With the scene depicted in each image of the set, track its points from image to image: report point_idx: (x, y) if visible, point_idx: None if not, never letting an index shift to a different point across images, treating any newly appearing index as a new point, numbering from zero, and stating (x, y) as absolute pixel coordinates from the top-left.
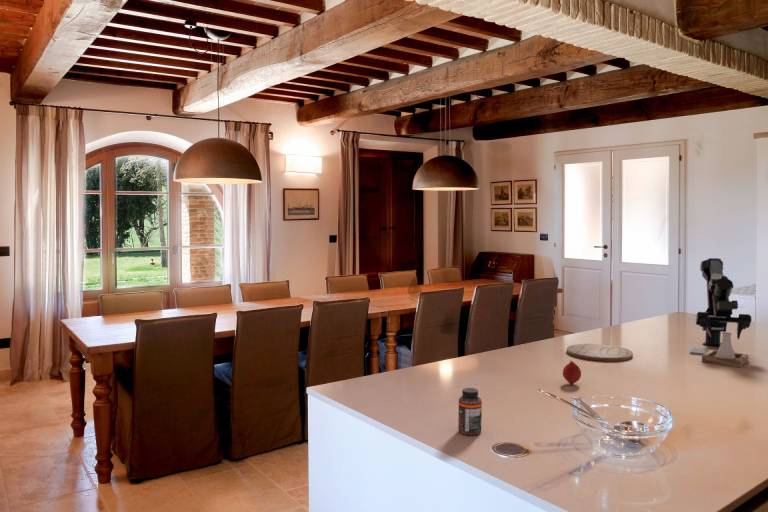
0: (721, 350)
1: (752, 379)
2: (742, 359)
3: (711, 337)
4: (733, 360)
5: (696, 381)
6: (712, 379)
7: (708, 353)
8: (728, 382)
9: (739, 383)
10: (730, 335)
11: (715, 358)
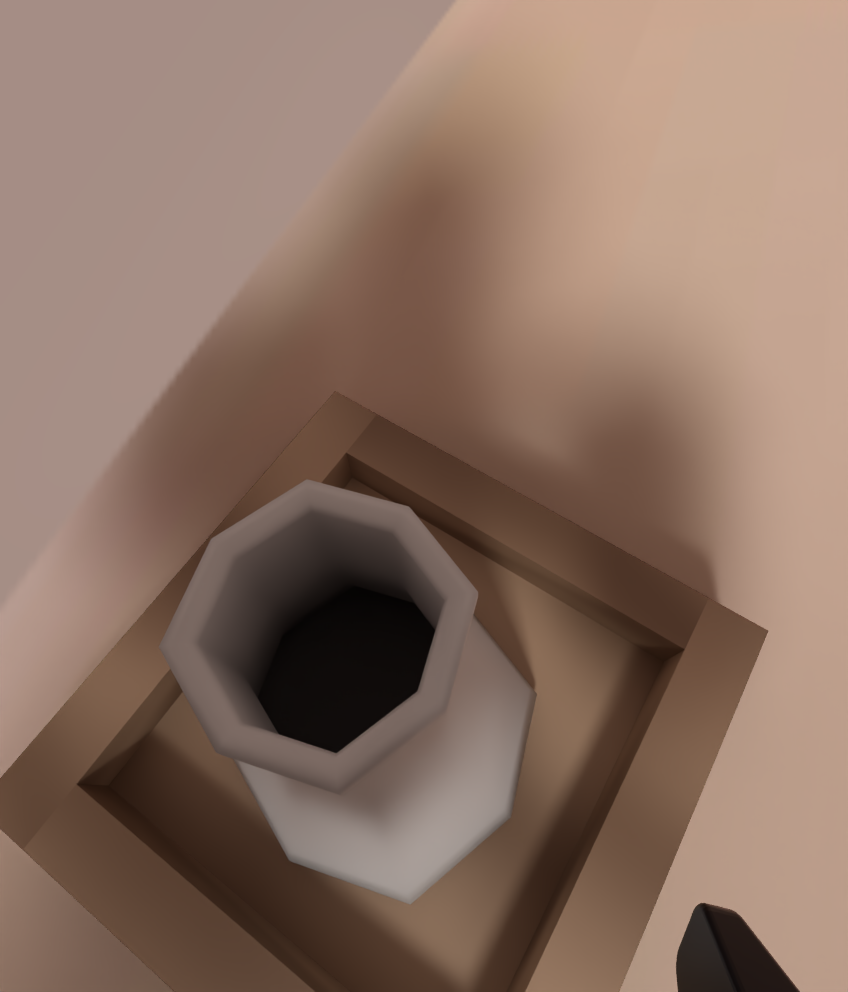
0: (477, 643)
1: (428, 122)
2: (270, 468)
3: (692, 948)
4: (401, 434)
5: (842, 47)
6: (724, 92)
7: (641, 794)
8: (629, 53)
9: (561, 44)
10: (255, 566)
11: (589, 541)
